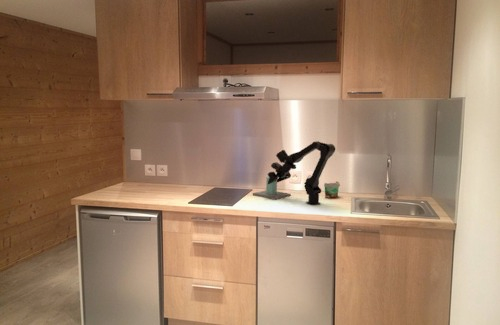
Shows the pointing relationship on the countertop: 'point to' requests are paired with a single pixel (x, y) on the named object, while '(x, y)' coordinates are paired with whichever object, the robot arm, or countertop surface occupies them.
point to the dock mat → (272, 195)
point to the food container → (331, 190)
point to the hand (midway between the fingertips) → (272, 182)
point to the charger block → (271, 187)
